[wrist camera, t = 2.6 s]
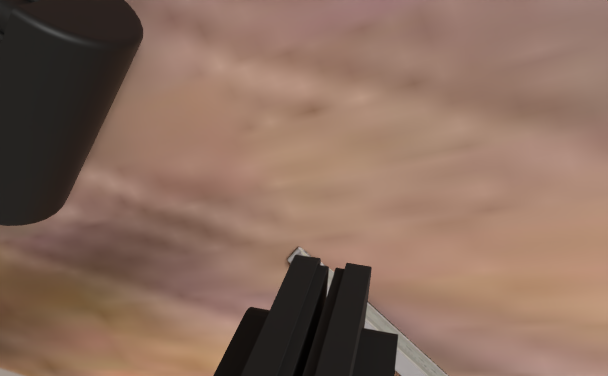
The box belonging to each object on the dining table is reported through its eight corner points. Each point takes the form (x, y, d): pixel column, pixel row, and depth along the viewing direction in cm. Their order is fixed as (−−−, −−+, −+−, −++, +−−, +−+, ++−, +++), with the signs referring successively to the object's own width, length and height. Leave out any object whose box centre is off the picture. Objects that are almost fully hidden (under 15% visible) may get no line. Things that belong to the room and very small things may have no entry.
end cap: (97, 182, 29) (10, 251, 23) (-18, 105, 28) (-138, 155, 22) (176, 25, 24) (91, 61, 18) (39, -73, 23) (-95, -68, 18)
